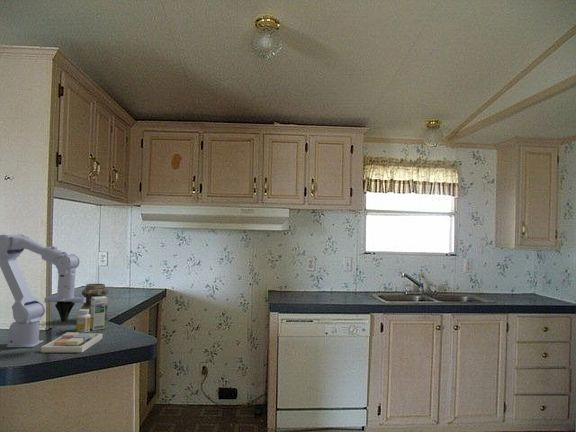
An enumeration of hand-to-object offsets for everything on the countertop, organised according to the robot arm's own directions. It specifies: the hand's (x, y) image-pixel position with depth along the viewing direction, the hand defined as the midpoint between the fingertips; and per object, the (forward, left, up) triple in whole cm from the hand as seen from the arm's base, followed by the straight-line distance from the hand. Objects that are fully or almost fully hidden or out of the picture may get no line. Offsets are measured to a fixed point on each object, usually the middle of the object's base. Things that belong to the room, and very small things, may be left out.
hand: (64, 321), depth 146 cm
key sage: (+6, +8, -9) cm, 13 cm away
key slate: (+6, +3, -8) cm, 10 cm away
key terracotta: (0, 0, -9) cm, 9 cm away
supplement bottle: (-2, +23, -10) cm, 25 cm away
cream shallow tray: (+3, +3, -10) cm, 10 cm away
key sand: (+6, -3, -8) cm, 10 cm away
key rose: (0, +6, -8) cm, 10 cm away
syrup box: (+2, +29, -10) cm, 30 cm away
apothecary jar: (-7, +44, -10) cm, 46 cm away
